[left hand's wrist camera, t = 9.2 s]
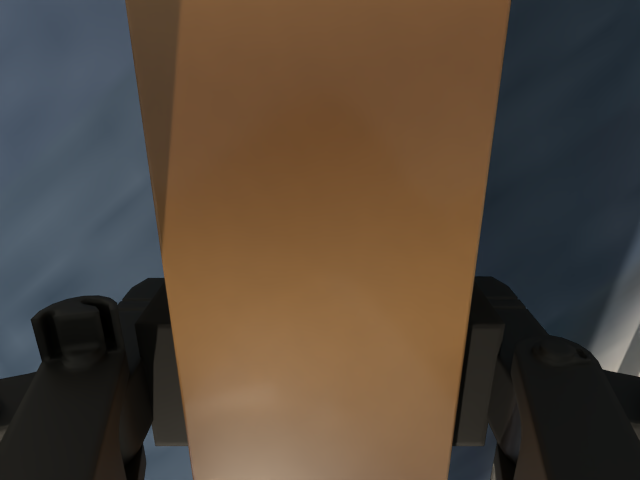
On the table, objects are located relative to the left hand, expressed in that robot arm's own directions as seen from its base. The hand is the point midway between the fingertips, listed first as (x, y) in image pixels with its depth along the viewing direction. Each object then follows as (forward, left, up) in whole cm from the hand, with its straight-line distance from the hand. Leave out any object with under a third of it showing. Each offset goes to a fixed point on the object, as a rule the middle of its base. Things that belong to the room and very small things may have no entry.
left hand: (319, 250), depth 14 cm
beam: (+13, +15, -1) cm, 20 cm away
